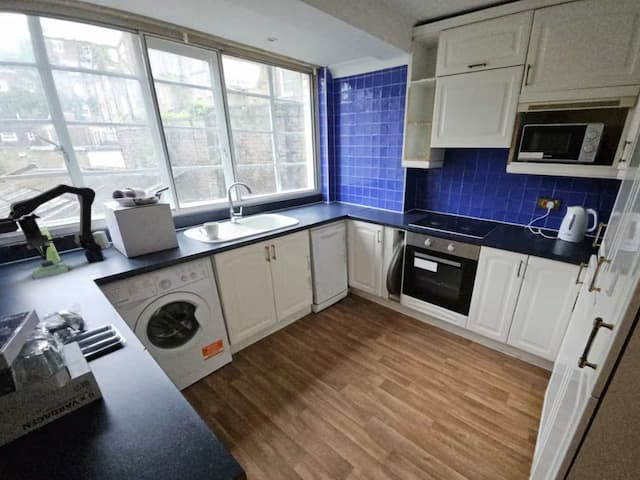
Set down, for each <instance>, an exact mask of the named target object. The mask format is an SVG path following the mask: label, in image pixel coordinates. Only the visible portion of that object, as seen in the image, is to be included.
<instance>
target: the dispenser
mask: <svg viewBox="0 0 640 480" xmlns="http://www.w3.org/2000/svg"><path fill="white" fill-rule="evenodd" d="M53 264H54V265H51V266H47V267H43V266H42V264H40V265H38V266H37V268H33V269H32V276H33V278H34V279H35V280H36V279H41V278H45V277H50V276H54V275H58V274H62V273H63V274H64V273H67V272H69V269H68V266H67V264H66V262H61V263H59V262H56V263H55V262H54V263H53Z"/></svg>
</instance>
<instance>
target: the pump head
mask: <svg viewBox="0 0 640 480" xmlns="http://www.w3.org/2000/svg"><path fill="white" fill-rule="evenodd" d="M40 265H42V266H43V267H47V266H51V265H54V264H53V262H52V261H47V260H44V261H42V262H40Z"/></svg>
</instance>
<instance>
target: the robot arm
mask: <svg viewBox="0 0 640 480" xmlns="http://www.w3.org/2000/svg"><path fill="white" fill-rule="evenodd" d="M64 194H72V195H76V196H77V200H78V202H79V232H78V233H77V234H76V233H74V240H73V241H74V242H75V244H76V246H77V247H79V248H82V249H83V250H85V254H84V255H85V258H86V261H87V262H88V264H93V263H97V262H103V261H105V260H106V256H105V254H104V252H103V249H101V246H100V245H98V244H97V243H96V242H95V239H94V236H93V233H92V206H93V204H94V202H95V198H96V192H95V190H94V189H93V188H91V187H86V186H81V187H77V186H72V185H68V184H64V183H59V184H58V185H56V186H53V187H51V188H50V189H48V190H45V191H43V192H42V193H38V194H37V195H35V196H33V197H29V198H25V199H22V200H18V201H15V202H12V203H11V204H10V205H9V209H10V212H9V214H8V216H7V217H2V218H0V235H5V234H11V233H17V232H18V230H21V231H22V233H23V236H24V237H25V241H26V242H25V243H21V242H14V243H8V245H7V249H8V251H9V253H14V252H20V251H21V250H23V249H24V248H27V249H28V251H33V252H34V253H36V254H37V255H38V256H39V257H40V258H41V259H42V260H44V261H47V248H48V247H50V244H49V243H53V244H56V245H58V244H63V243H66V241H65V238H64V236H63V235H55V236H51V239H48V237H47V235H42V233H41V231H40V228H39V227H40V226H39V225H38V222H37V219H41V215H40V216H39V215H37V214H36V213H34V212H35V211H36V210H37V209H38V208H40V206H42V205H44V204H46V203H49V202H50V201H52V200H54V199H56V198H58V197H60V196H62V195H64ZM74 242H73V243H74ZM40 246H41V247H42V250H43V251H42V250H41V249H40Z"/></svg>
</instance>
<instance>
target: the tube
mask: <svg viewBox="0 0 640 480" xmlns="http://www.w3.org/2000/svg"><path fill="white" fill-rule="evenodd" d="M39 228H40V231H41V233H42V235H47V237H48V239H52V236H51V234H50V232H49V228H48V227H47V225H44V226H39ZM49 244H50V247H48V248H47V260H46V261H52V262H53V263H54V262H55V263H59V262H61V258H60V256H59V253H58V251H57V249H56V247H55V243H54V242H53V243H49ZM39 249H40V251H41V252H43V250H42V247H41V246H40V247H39Z"/></svg>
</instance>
